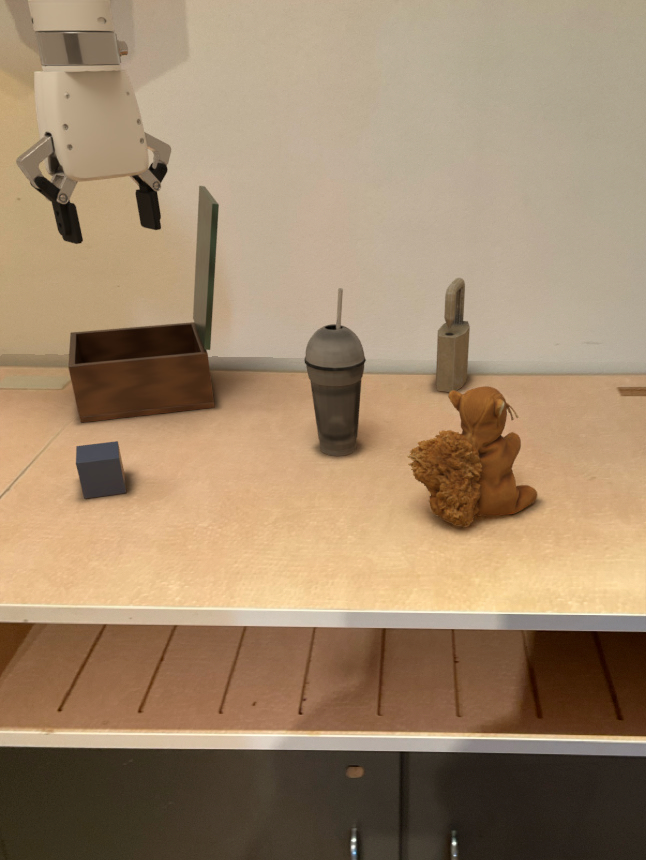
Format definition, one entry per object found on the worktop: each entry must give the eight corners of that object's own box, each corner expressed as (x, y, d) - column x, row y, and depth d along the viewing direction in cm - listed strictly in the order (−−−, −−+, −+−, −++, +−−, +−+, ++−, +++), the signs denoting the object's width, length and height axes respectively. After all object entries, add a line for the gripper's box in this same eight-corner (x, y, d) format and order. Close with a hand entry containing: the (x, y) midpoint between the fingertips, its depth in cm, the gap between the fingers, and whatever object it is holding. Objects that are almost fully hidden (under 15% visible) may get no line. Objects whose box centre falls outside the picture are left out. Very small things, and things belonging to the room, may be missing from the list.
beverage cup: (334, 431, 104) (328, 275, 93) (378, 445, 100) (377, 285, 90) (297, 450, 99) (286, 288, 88) (342, 466, 95) (336, 299, 85)
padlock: (431, 390, 116) (434, 286, 108) (445, 371, 123) (449, 273, 115) (457, 393, 116) (463, 289, 108) (470, 374, 122) (476, 275, 114)
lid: (212, 203, 97) (218, 204, 97) (199, 185, 108) (205, 186, 109) (204, 349, 106) (210, 350, 106) (192, 318, 117) (198, 319, 118)
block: (84, 499, 88) (75, 463, 86) (84, 481, 92) (76, 445, 89) (126, 493, 89) (119, 457, 87) (124, 475, 93) (117, 440, 90)
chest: (80, 422, 105) (68, 366, 101) (81, 384, 117) (70, 332, 113) (214, 407, 110) (207, 353, 106) (202, 372, 122) (196, 321, 118)
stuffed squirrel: (542, 499, 89) (555, 388, 82) (468, 550, 80) (475, 430, 73) (470, 472, 94) (477, 366, 87) (393, 517, 85) (393, 403, 78)
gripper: (134, 53, 86) (161, 220, 95) (-25, 55, 75) (22, 242, 85) (174, 53, 82) (198, 227, 91) (12, 55, 71) (57, 253, 80)
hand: (113, 234), depth 88 cm, fingers open, 9 cm apart
